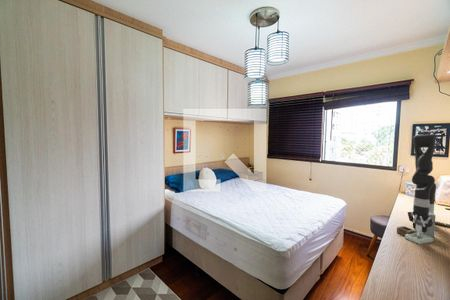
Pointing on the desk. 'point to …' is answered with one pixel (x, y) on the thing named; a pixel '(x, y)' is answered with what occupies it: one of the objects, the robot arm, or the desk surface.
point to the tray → (420, 241)
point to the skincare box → (431, 229)
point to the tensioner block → (405, 230)
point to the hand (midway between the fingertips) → (419, 230)
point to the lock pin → (419, 230)
